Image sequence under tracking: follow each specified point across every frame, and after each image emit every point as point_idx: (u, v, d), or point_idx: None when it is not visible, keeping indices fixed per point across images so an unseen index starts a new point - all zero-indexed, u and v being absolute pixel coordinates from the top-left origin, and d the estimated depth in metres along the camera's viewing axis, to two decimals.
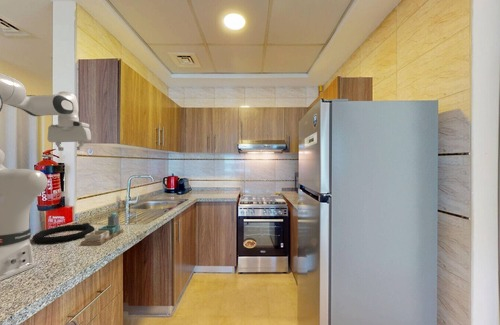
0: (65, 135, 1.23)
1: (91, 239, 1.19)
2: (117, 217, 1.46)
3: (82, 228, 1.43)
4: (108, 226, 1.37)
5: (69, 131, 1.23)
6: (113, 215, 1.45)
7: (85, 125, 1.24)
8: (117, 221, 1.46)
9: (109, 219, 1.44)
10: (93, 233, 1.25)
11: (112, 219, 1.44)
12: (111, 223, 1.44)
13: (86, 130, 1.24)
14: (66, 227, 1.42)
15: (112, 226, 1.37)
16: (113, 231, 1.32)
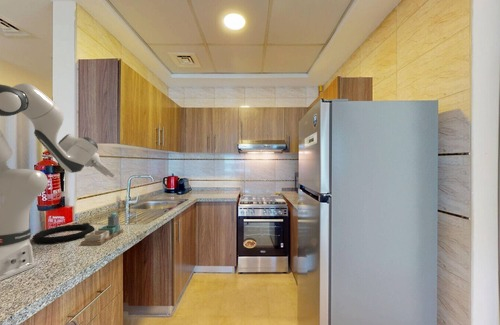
0: (102, 163, 1.32)
1: (91, 239, 1.19)
2: (117, 217, 1.46)
3: (82, 228, 1.43)
4: (108, 226, 1.37)
5: None
6: (113, 215, 1.45)
7: None
8: (117, 221, 1.46)
9: (109, 219, 1.44)
10: (93, 233, 1.25)
11: (112, 219, 1.44)
12: (111, 223, 1.44)
13: None
14: (66, 227, 1.42)
15: (112, 226, 1.37)
16: (113, 231, 1.32)
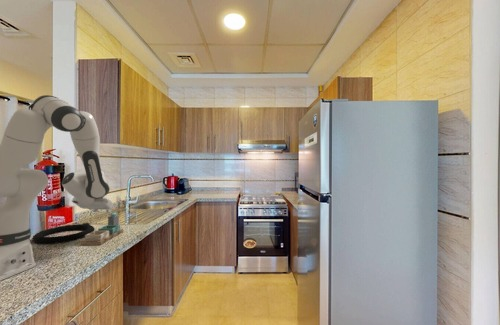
0: None
1: (91, 239, 1.19)
2: (117, 217, 1.46)
3: (82, 228, 1.43)
4: (108, 226, 1.37)
5: None
6: (113, 215, 1.45)
7: None
8: (117, 221, 1.46)
9: (109, 219, 1.44)
10: (93, 233, 1.25)
11: (112, 219, 1.44)
12: (111, 223, 1.44)
13: None
14: (66, 227, 1.42)
15: (112, 226, 1.37)
16: (113, 231, 1.32)
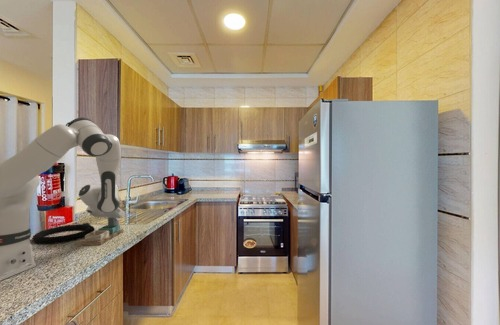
0: None
1: (91, 239, 1.19)
2: None
3: (82, 228, 1.43)
4: (108, 226, 1.37)
5: None
6: None
7: None
8: (117, 221, 1.46)
9: (109, 219, 1.44)
10: (93, 233, 1.25)
11: (112, 219, 1.44)
12: (111, 223, 1.44)
13: None
14: (66, 227, 1.42)
15: (112, 226, 1.37)
16: (113, 231, 1.32)
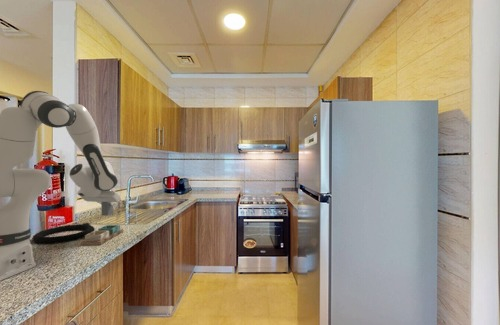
0: None
1: (91, 239, 1.19)
2: None
3: (82, 228, 1.43)
4: (108, 226, 1.37)
5: None
6: None
7: None
8: (111, 206, 1.36)
9: (103, 204, 1.33)
10: (93, 233, 1.25)
11: (106, 203, 1.33)
12: (105, 208, 1.33)
13: None
14: (66, 227, 1.42)
15: (112, 226, 1.37)
16: (113, 231, 1.32)
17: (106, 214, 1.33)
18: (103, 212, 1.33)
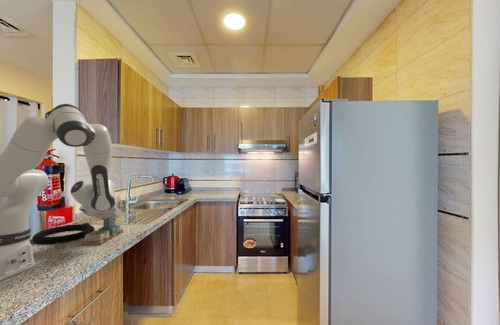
0: None
1: (91, 239, 1.19)
2: (113, 219, 1.35)
3: (82, 228, 1.43)
4: None
5: None
6: (109, 217, 1.33)
7: None
8: (113, 223, 1.35)
9: (105, 221, 1.33)
10: (93, 233, 1.25)
11: (108, 221, 1.32)
12: (107, 226, 1.32)
13: None
14: (66, 227, 1.42)
15: None
16: (113, 231, 1.32)
17: None
18: None
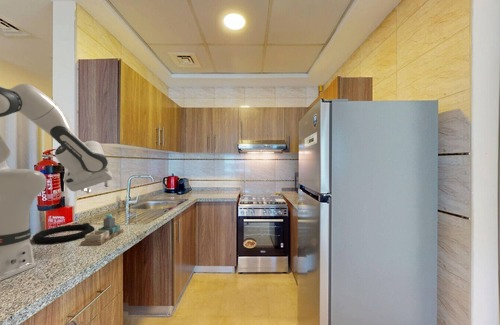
0: None
1: (91, 239, 1.19)
2: (113, 219, 1.35)
3: (82, 228, 1.43)
4: None
5: None
6: (109, 217, 1.33)
7: None
8: (113, 223, 1.35)
9: (105, 221, 1.33)
10: (93, 233, 1.25)
11: (108, 221, 1.32)
12: (107, 226, 1.32)
13: None
14: (66, 227, 1.42)
15: None
16: (113, 231, 1.32)
17: None
18: None
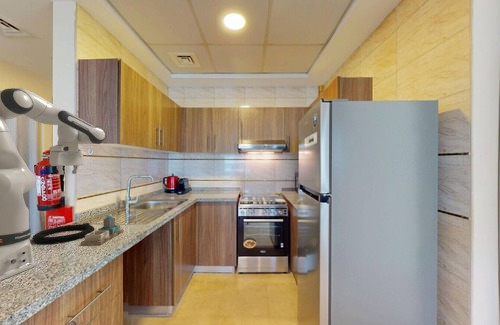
0: None
1: (91, 239, 1.19)
2: (113, 219, 1.35)
3: (82, 228, 1.43)
4: None
5: None
6: (109, 217, 1.33)
7: (54, 149, 1.18)
8: (113, 223, 1.35)
9: (105, 221, 1.33)
10: (93, 233, 1.25)
11: (108, 221, 1.32)
12: (107, 226, 1.32)
13: (51, 154, 1.18)
14: (66, 227, 1.42)
15: None
16: (113, 231, 1.32)
17: None
18: None
